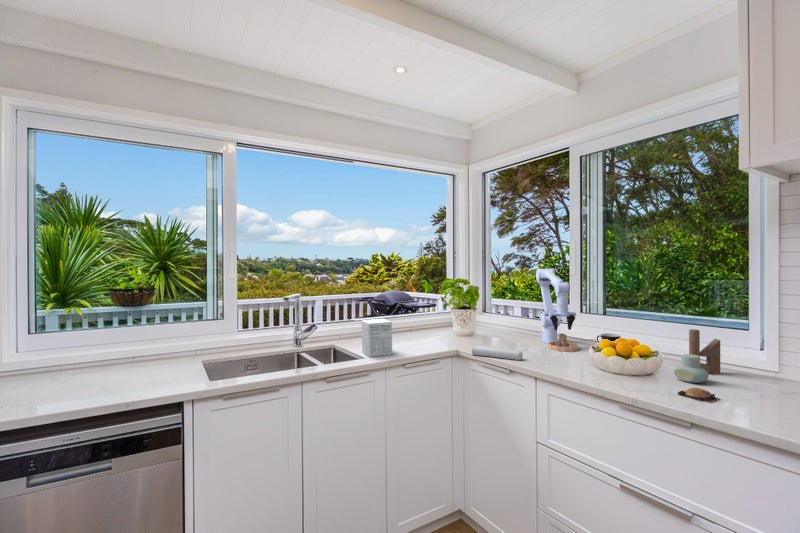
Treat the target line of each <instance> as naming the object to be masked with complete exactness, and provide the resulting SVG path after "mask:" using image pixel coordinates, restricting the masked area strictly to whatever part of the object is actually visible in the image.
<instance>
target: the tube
mask: <svg viewBox="0 0 800 533" xmlns="http://www.w3.org/2000/svg"><path fill="white" fill-rule="evenodd" d="M471 355H472V356H479V357H486V358H487V357H489V358H493V359H494V358H496V359H503V360H513V361H522V359H523V352H522V351H521V350H516V349H509V348H499V347H491V346H481V345H476V344H474V345H472V348H471Z"/></svg>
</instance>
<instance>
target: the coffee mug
mask: <svg viewBox="0 0 800 533" xmlns="http://www.w3.org/2000/svg"><path fill="white" fill-rule="evenodd" d="M599 337H601V340H602V339H608V340H610V341H615V340H616V339H618V338H620V339H621V334H616V333H601V334H600V335H597V336H596V341H597V342H598V344H599V342H600V341H599Z"/></svg>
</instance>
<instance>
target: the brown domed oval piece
mask: <svg viewBox="0 0 800 533" xmlns="http://www.w3.org/2000/svg"><path fill="white" fill-rule="evenodd" d="M677 395H678V396H680V397H684V398H687V399H690V400H691V399H692V400H695V401H699V402H703V403H708V404H713V403H715V402H718V401H720V400H721V398H720V397H716V394H715V393H712V392H710V391H708V390H706V389H703V388H699V387H692V388H691V387H690V388H688V389H686V390H680V391H678V392H677Z"/></svg>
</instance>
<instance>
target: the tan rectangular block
mask: <svg viewBox="0 0 800 533" xmlns="http://www.w3.org/2000/svg"><path fill="white" fill-rule="evenodd" d="M567 340H568V336H567V334H564V333H558V341H559V343H560V344H561V347H567V342H568V341H567Z"/></svg>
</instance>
